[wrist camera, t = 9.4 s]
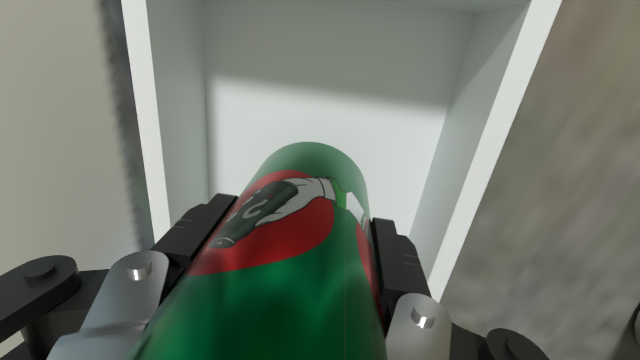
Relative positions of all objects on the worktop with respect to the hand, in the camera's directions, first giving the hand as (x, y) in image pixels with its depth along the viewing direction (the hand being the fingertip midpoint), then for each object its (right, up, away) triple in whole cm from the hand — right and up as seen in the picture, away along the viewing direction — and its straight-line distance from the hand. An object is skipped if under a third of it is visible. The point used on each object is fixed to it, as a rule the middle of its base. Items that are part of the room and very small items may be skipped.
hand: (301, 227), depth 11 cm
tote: (0, +2, +5) cm, 5 cm away
